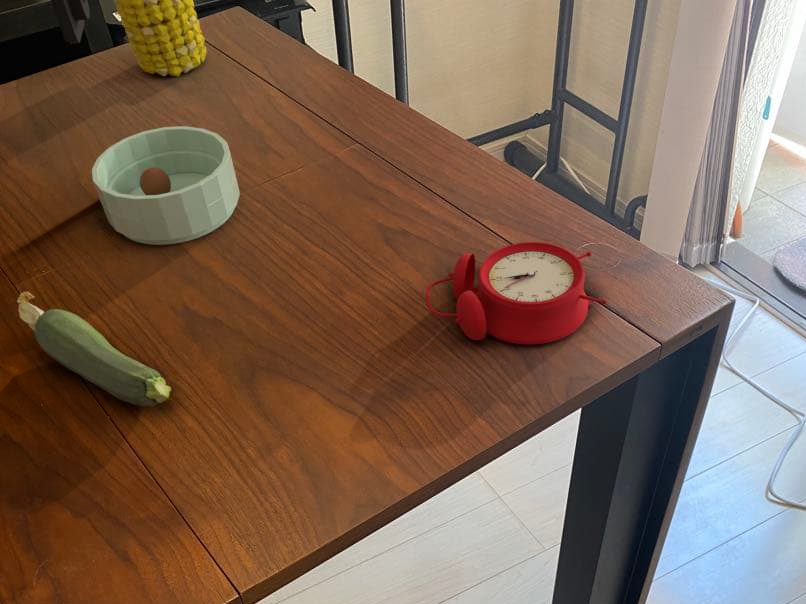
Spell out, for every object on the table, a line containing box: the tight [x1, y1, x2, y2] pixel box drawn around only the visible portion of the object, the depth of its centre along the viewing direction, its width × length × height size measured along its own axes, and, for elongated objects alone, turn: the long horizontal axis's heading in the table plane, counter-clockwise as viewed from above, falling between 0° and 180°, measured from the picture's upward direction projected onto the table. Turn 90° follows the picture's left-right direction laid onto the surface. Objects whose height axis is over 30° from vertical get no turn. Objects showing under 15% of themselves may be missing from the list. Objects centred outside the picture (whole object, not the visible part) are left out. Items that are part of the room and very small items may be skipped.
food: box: [113, 0, 208, 77], centre depth 107 cm, size 15×12×10 cm
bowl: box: [91, 125, 241, 246], centre depth 89 cm, size 14×14×6 cm
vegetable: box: [16, 291, 172, 408], centre depth 74 cm, size 4×4×20 cm
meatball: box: [140, 168, 171, 196], centre depth 90 cm, size 3×3×3 cm
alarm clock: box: [425, 241, 607, 345], centre depth 75 cm, size 10×6×15 cm
